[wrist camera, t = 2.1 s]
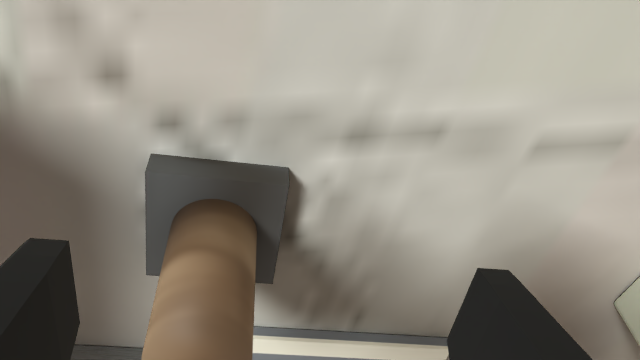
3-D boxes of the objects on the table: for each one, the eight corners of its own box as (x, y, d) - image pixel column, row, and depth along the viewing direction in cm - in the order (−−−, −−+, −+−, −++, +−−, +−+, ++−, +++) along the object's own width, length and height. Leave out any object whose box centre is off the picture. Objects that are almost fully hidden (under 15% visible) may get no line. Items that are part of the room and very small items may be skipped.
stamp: (151, 253, 23) (112, 408, 18) (151, 152, 21) (104, 298, 15) (272, 263, 24) (272, 414, 19) (288, 166, 21) (293, 310, 16)
